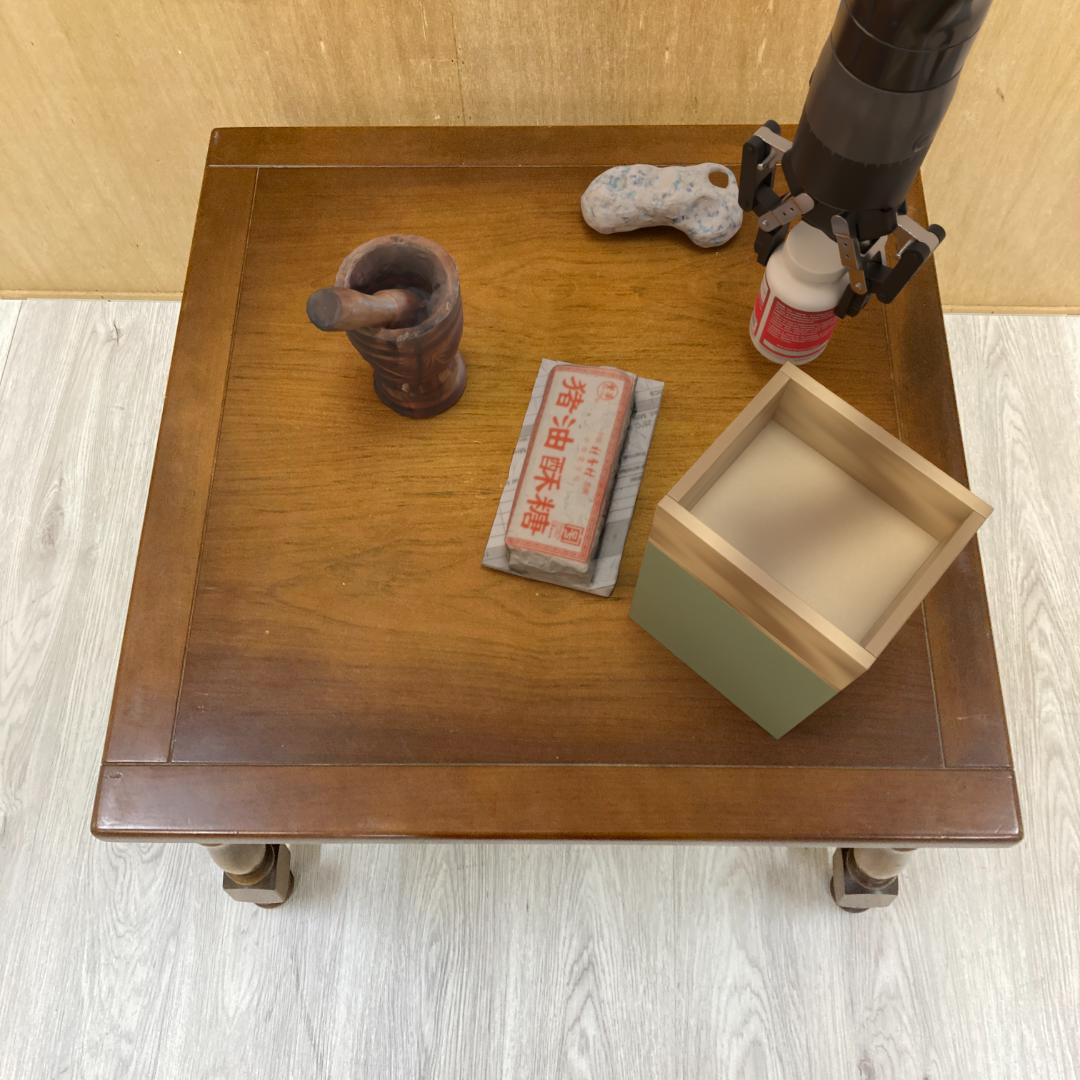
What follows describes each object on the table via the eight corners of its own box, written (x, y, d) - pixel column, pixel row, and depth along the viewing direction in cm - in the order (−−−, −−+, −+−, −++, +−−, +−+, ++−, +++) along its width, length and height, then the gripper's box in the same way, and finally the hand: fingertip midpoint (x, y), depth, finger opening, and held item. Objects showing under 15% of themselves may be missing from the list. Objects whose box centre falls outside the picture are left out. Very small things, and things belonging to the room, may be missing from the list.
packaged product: (615, 581, 70) (476, 547, 71) (611, 601, 75) (481, 569, 76) (670, 359, 76) (542, 331, 77) (664, 391, 81) (542, 363, 82)
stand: (873, 619, 74) (955, 544, 59) (777, 740, 71) (838, 693, 56) (725, 505, 77) (767, 406, 62) (627, 616, 74) (647, 540, 59)
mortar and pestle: (457, 469, 79) (428, 329, 60) (347, 455, 79) (284, 313, 60) (480, 339, 83) (460, 170, 64) (376, 327, 83) (325, 156, 64)
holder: (955, 544, 59) (995, 508, 54) (838, 693, 56) (868, 669, 51) (767, 406, 62) (787, 360, 57) (647, 540, 59) (656, 504, 54)
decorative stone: (584, 262, 85) (586, 223, 80) (578, 196, 87) (579, 155, 83) (742, 252, 85) (754, 213, 81) (731, 187, 88) (742, 144, 83)
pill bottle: (842, 350, 78) (885, 262, 68) (772, 380, 78) (805, 296, 67) (802, 288, 80) (837, 194, 70) (733, 317, 80) (759, 226, 69)
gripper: (1021, 132, 56) (921, 305, 72) (809, 6, 60) (757, 196, 75) (945, 217, 54) (859, 375, 70) (730, 81, 58) (694, 261, 74)
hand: (806, 282), depth 73 cm, fingers closed on pill bottle, 6 cm apart
